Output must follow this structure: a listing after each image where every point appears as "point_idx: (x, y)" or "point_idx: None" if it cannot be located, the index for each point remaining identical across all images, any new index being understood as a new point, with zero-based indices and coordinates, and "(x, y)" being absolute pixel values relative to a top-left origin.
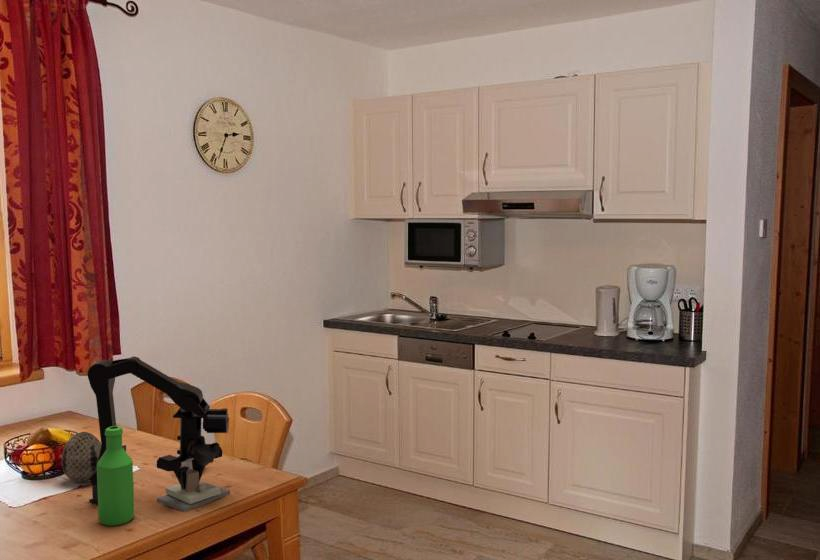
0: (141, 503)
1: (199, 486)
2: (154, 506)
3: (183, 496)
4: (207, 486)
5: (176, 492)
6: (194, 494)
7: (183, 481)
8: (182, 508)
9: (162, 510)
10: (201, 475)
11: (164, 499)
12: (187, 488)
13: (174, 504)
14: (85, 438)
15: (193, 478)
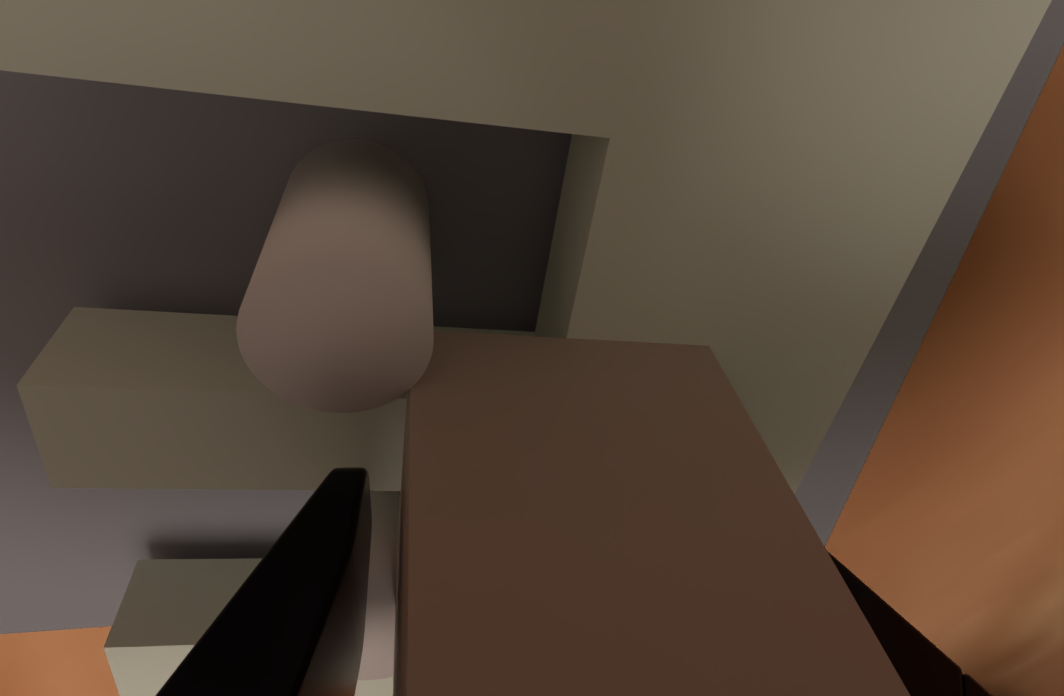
0: (879, 594)
1: (433, 339)
2: (922, 464)
3: (889, 274)
4: (106, 358)
5: (795, 485)
6: (761, 130)
7: (895, 611)
8: (1061, 16)
9: (1030, 303)
10: (196, 653)
11: (812, 500)
12: (729, 421)
13: (951, 267)
14: None
15: (644, 594)
